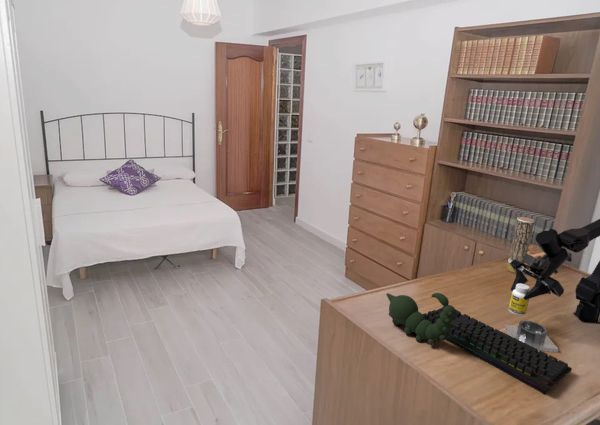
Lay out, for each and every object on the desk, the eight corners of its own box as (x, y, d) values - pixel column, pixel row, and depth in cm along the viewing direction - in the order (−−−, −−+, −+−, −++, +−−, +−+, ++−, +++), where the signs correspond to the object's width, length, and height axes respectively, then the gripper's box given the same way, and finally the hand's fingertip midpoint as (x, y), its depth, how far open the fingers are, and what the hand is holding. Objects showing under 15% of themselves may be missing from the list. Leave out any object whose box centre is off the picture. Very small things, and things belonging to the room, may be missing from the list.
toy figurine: (451, 350, 136) (390, 310, 154) (466, 299, 129) (401, 263, 147) (433, 360, 130) (373, 317, 148) (448, 307, 124) (383, 269, 141)
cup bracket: (540, 331, 147) (543, 319, 145) (557, 352, 135) (561, 339, 134) (504, 328, 147) (507, 316, 146) (518, 348, 136) (521, 335, 135)
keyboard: (570, 376, 125) (574, 361, 123) (545, 398, 115) (550, 383, 114) (444, 313, 156) (446, 300, 155) (416, 326, 146) (418, 313, 145)
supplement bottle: (506, 312, 145) (512, 286, 142) (510, 306, 149) (515, 280, 146) (524, 317, 142) (530, 291, 139) (527, 311, 146) (533, 285, 143)
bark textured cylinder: (524, 275, 192) (536, 222, 185) (508, 273, 193) (519, 220, 186) (520, 269, 198) (531, 217, 191) (504, 267, 200) (515, 216, 192)
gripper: (519, 237, 148) (487, 269, 148) (565, 258, 131) (529, 294, 131) (532, 256, 153) (501, 287, 153) (579, 279, 136) (544, 314, 136)
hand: (517, 294), depth 143 cm, fingers closed on supplement bottle, 5 cm apart
